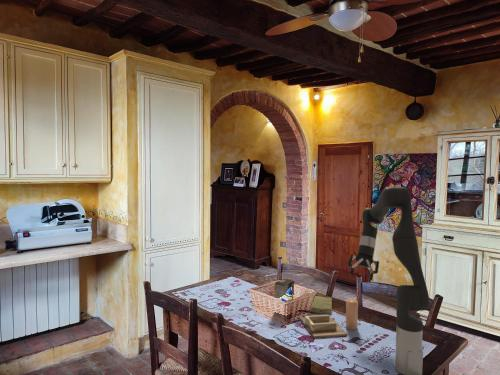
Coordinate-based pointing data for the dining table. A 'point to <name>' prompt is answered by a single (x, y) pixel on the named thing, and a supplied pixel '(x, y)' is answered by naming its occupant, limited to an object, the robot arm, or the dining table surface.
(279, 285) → the coffee box
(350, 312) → the tan wooden cylinder
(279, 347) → the dining table surface
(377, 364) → the dining table surface
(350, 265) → the robot arm
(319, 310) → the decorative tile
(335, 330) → the dock
